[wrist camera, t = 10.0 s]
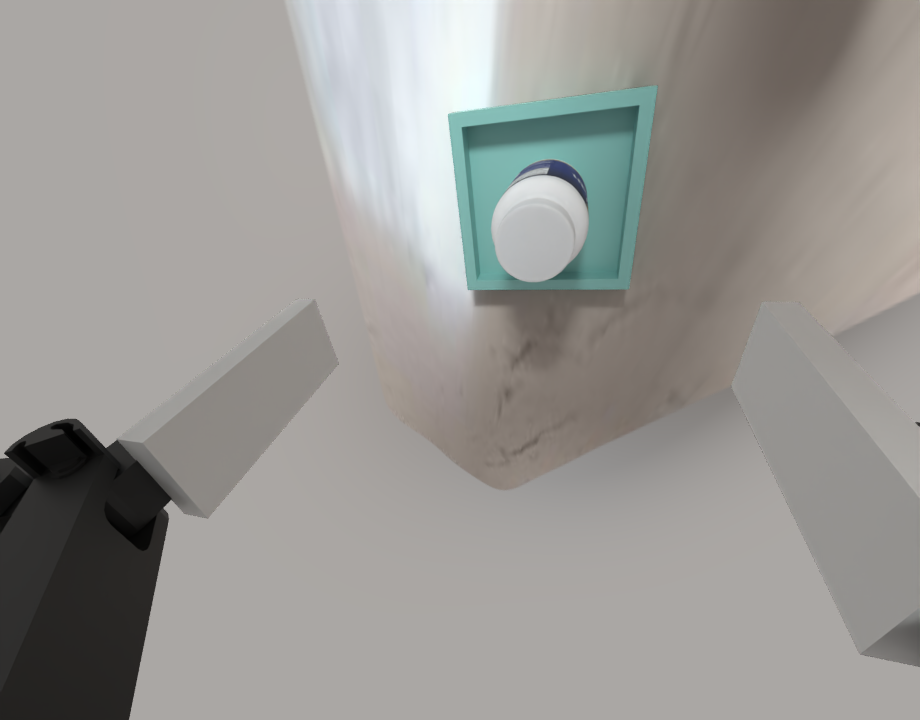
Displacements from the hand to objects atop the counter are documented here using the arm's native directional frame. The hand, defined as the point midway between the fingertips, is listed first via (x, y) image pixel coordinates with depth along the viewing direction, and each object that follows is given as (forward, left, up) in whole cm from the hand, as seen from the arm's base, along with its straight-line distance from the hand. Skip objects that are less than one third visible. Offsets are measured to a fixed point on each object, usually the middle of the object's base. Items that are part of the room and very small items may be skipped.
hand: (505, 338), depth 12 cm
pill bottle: (0, 0, -19) cm, 19 cm away
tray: (0, 0, -19) cm, 19 cm away
